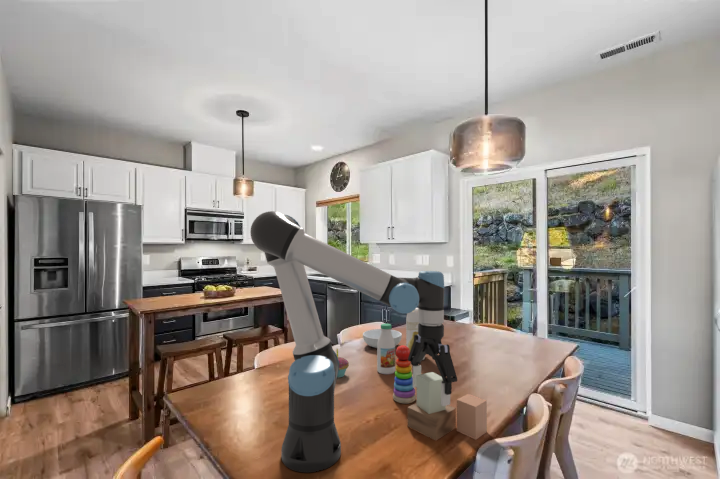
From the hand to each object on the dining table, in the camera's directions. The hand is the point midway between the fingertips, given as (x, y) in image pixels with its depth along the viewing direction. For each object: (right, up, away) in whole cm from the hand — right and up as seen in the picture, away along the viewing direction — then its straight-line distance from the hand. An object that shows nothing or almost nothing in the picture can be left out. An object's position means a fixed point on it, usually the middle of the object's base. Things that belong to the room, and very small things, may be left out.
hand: (430, 395), depth 102 cm
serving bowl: (-9, -11, +82) cm, 83 cm away
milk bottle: (-10, -10, +45) cm, 47 cm away
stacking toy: (-5, -10, +18) cm, 21 cm away
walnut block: (0, -10, 0) cm, 10 cm away
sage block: (0, -4, 0) cm, 4 cm away
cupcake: (-30, -10, +41) cm, 51 cm away
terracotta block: (+11, -9, -3) cm, 15 cm away
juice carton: (+6, -11, +63) cm, 64 cm away
